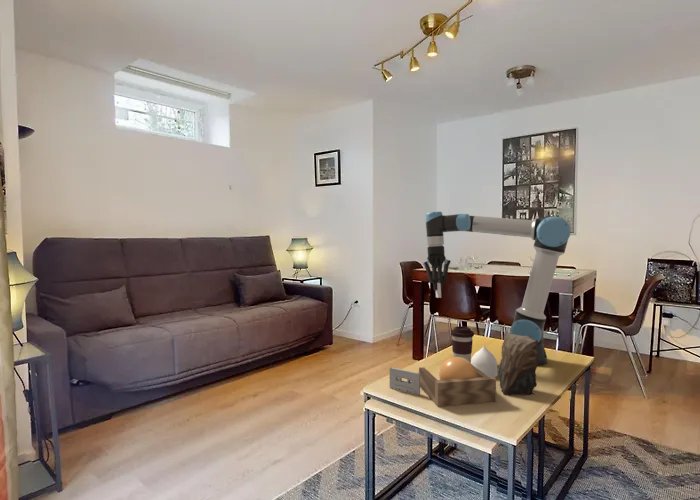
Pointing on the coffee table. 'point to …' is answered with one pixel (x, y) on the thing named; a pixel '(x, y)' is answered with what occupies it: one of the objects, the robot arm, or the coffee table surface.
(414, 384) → the cassette
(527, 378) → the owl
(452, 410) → the coffee table surface
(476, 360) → the teardrop
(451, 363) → the ball
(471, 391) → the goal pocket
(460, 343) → the coffee cup
